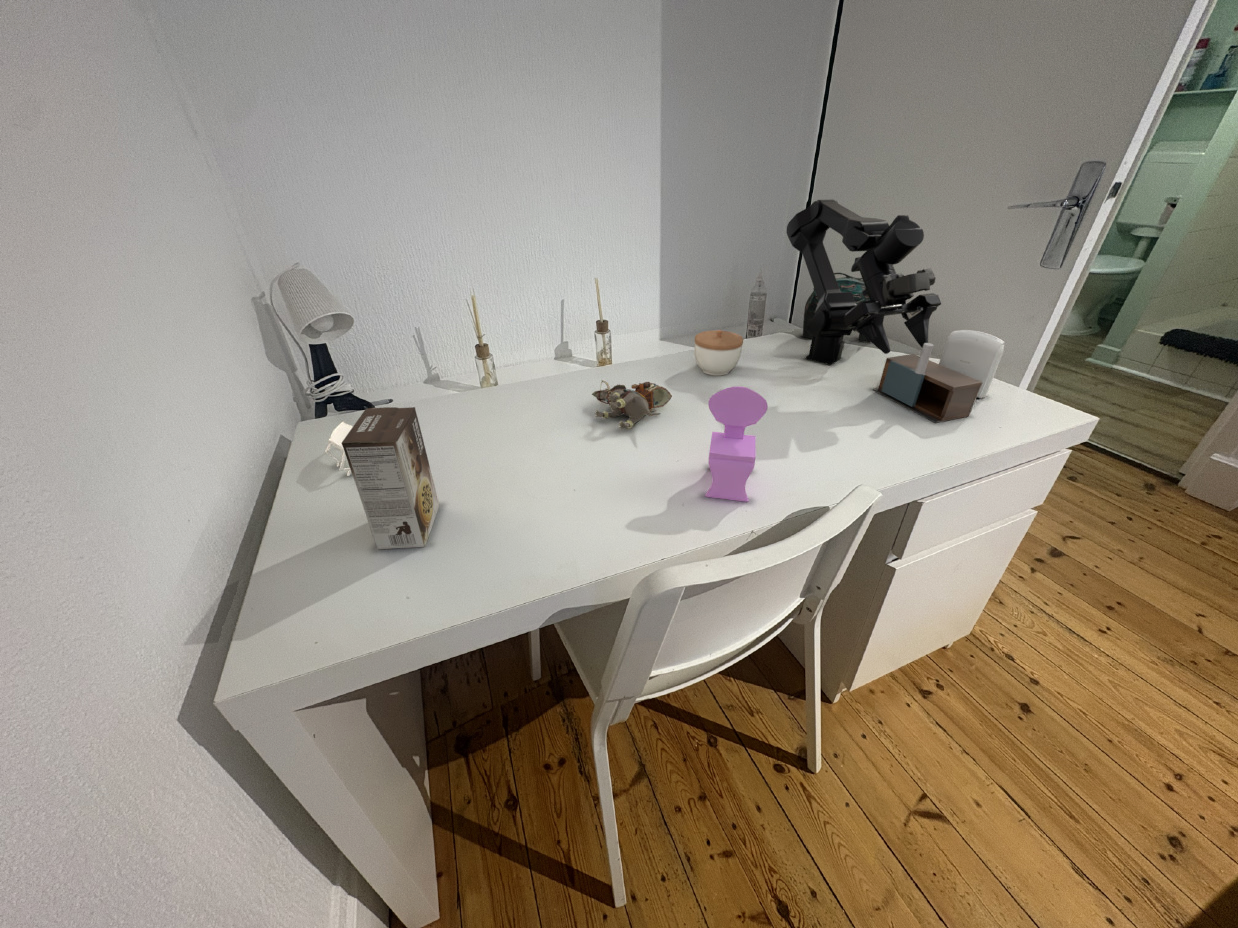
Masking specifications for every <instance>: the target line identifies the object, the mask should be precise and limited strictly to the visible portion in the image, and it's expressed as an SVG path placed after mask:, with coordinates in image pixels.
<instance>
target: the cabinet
mask: <svg viewBox="0 0 1238 928" xmlns="http://www.w3.org/2000/svg"><path fill="white" fill-rule="evenodd" d="M919 357H920V355H918V354H915V353H909V354H903V355H897V356H890V357H886V358H885V363H884V366H883V369H882V373H881V376H880V379H879V384H878V387H877V388H873V389H872V391H873V392H875V393H877V394H879V395H881V396H882V397H884V398H886V399H888V400H890V401H893V402H894V403H896V404H897V405H900V406H901V407H903V408H905V409H908V410H909V411H911V412H912V413H915V414H916V415H919V416H921V417H923V418H925V419H927V420H928V421H930V422H932V423H934V424H939V423H942V422H948V421H952V420H957V419H963V418H968V417H970V415H971V413H972V410H973V407H974V405H975V401H976V400H977V398H978V397H977V395H978V392H979V390H980V387H981V385H982V382H981V381H979V380H976V379H974V378H971V377H969V376H966V375H964V374H961V373H959V372H957V371H954V370H952V369H949V368H947V367H944V366H942V365H939V363H938V362H934V361H933V360H930V359H929V361H928V364H927V367H926V370H925V373H924V374H925V377H924V380H923V383H922V386H921V389H920V392H919V395H918V398H917V401H916V404H915V406H913V407H911V406H909V405H907V404H905V403H903V402H901V401H899V400H898V399H896V398H894V397H892V396H890V395H888V394H886V393H884V392H882V391H881V390H882V387H883V384H884V380H885V377H886V373H887V370H888V366H889V363H890V361H895V362H898V363H900V364H902V365H904V366H907V367H909V368H911V369H913V370H916V367H917V364H918V360H919Z"/></svg>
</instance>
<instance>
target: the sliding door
mask: <svg viewBox="0 0 1238 928" xmlns="http://www.w3.org/2000/svg"><path fill="white" fill-rule="evenodd" d="M933 348H934V344H933V343H931V342H928V343H924V345H923V348H922V347H921V351H920V354H919V356H920V357H919V360H918V364H917V367H916V370H913V369H911V368H909V367H907V366H904V365H902V364H900V363H898V362H895V361H890V363H889V366H888V370H887V373H886V377H885V380H884V384H883V387H882V390H881V391H882V392H884V393H886V394H888V395H890V396H892V397H894V398H896V399H898V400H899V401H901V402H903V403H905V404H907V405H909V406H911V407H913V406H915V404H916V401H917V398H918V395H919V392H920V389H921V386H922V383H923V380H924V377H925V374H924V373H925V370H926V367H927V364H928V361H929V360H930V357H931V355H932V351H933Z"/></svg>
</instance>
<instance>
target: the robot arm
mask: <svg viewBox="0 0 1238 928" xmlns="http://www.w3.org/2000/svg"><path fill="white" fill-rule="evenodd" d="M829 229H831V230H833V231H834V232H836V233H837V234H839V235H840V236H841V237H842V240H841V243H842V244H843V245H844V246H845V247H846V248H847V250H848V251H849V252H852V253H853V252H854V253H855V252H864V253H863V254H862V255H861V256H857V257H855V258H854V262H853V264H852V266H851V268H850V271H851V273H855V272H859V273H860V276H861V278H862V279H861V280H863V282H864V284H865V287H866V289H865V290H864V291H863V292H862V293H863V296H869V298H870V301H862V302H860V303H858V304H856V303H855V300H854V296H853V294H852V293H851V292H841V291H840V288H839V286H838V283H837V280H836V274H835V275H834V273H835V272H834V270H833V266H832V264H831V260H830V258H829V255H828V253H827V250H826V247H825V244H824V240H825V238H826V234H827V231H828V230H829ZM923 229H924V228H921V227H920V225H919V224H918V223H917V222H915V221H913V220H912V219H910V217H909V215H908V214H898V215H897V216H896V217H894V219H893V220H892V222H891V223H890V224H889V222H888V221H887V220H885V219H881V218H875V217H866V216H865V217H864V216H861V215H860V214H857V213H856V212H854V211H852V210H851V209H848V208H847V207H845V206H844V205H842V204H840V203H839V202H838V200H835V199H832V198H830V199H817V200H815V201H813V202H812V203H811V204H810V205H809V206H808V207H806V208H803V209H802V210H800V211H798V212H797V213H796V214H795V215H794V216H793V217H792V218H791V219H790V221H788V223H787V225H786V236H787V238H788V240H789V242H790V244H791V247H793V248H794V249H795V250H797V251H798V252H799V253H801V255H802V257H803V259H804V263H805V265H806V268H807V271H808V275H809V278H810V281H811V284H812V286H813V288H814V289H815V292H816V295H817V298H818V301H819V302H818V305H817V308H816V311H815V316H814V317H813V318H812V319H811V320H810V321H809V322H808V333H810V334H812V335H813V336H812V338H811V341H810V347H809V352H808V355H806V356H805V358H804V359H805V360H808V361H813V362H815V363H820V364H824V365H830V366H832V365H834V364H835V363H836V362H838V361H839V360H841V359H842V355H843V352H844V348H845V341H844V336H851V334H852V332H857V333H858V334H859V333H860V334H861V335H863V336H864V337H865V338H867V339H868V340H869V341H870V342H869V343H871V344H873V345H874V346H875V347H876V348H877V349H878V350H880V351H881V352H882V353H883V354H884V355H887V354H889V353H891V347H890V342H889V340H888V336H887V333H886V330H885V327H884V320H885V317H886V316H894V315H901V317H902V318H903V319H904V320H905V321H904V322H903V324H904V325H905V327H906V328H907V330H908V331H909V333H911V335H912V337H913V338H914V340H915V341H916V343H917V344H918V345H919V347H921V349H922V348H923V345H924V343H929V327H930V325H929V324H930V318H931V316H932V314H933V313H934V312H935V311H937V310H938V307H939V306H942V301H941V299H940V297H939V294H936V293H923V294H919V295H917V296H916V297H915V293H919V292H923V291H925V292H927V291H930V290H931V286H933V285H934V284H935V283H936V280H937V278H936V275H935V273H934V271H933V269H932V268H931V267H928V268H923V269H919V270H917V271H916V273H915V272H914V273H910V274H906V275H904V274H903V273H897V271H896V269H895V267H894V265H898V264H899V263H901V262H902V261H903V260H904V259H905V258H907V257H908V255H910V254H911V253H912V252H913V251H915V249H916V248H918V247H919V246H920V245H921V244H922V242H923V241H924V238H925V233H924V230H923ZM913 297H914V298H913ZM912 298H913V299H912ZM908 300H910V301H909V302H907V301H908Z"/></svg>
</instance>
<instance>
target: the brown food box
mask: <svg viewBox="0 0 1238 928" xmlns="http://www.w3.org/2000/svg"><path fill="white" fill-rule="evenodd" d="M352 426H353V427H352V429H351V430H350V432H349V433H348V434H347V436H346V437H345V439H344V440H343V442H342V443H341V444H342V446H343V448H344V451H345V455H346V456H345V458H346V460H347V463H348V466H349V468H350V469H351V472H350V473H351V475H352V477H353V481H354V484H355V487H356V489H357V493H358V495H359V498H360V501H361V504H362V507H363V510H364V514H365V516H366V519H367V522H368V525H369V528H370V532H371V533H372V537H373V540H374V543H375V546H376V549H377V550H389V549H406V548H407V549H409V548H410V549H411V548H424V547H426V546H427V543H428V539H429V538H430V534H431V531H432V528H433V526H434V523H435V520H436V517H437V514H438V511H439V509H440V503H439V498H438V494H437V491H436V487H435V482H434V479H433V475H432V474H433V473H432V471H431V465H430V461H429V458H428V454H427V450H426V445H425V442H424V437H423V433H422V430H421V425H420V422H419V418H418V413H417V411H416V406H413V407H411V406H409V407H393V406H392V407H391V406H387V407H385V406H383V407H369V408H365V409H364V410H363V412H362V413H361V414H360V416H359V418H358V419H357V420H356V422H355V423H354V425H352Z"/></svg>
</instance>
